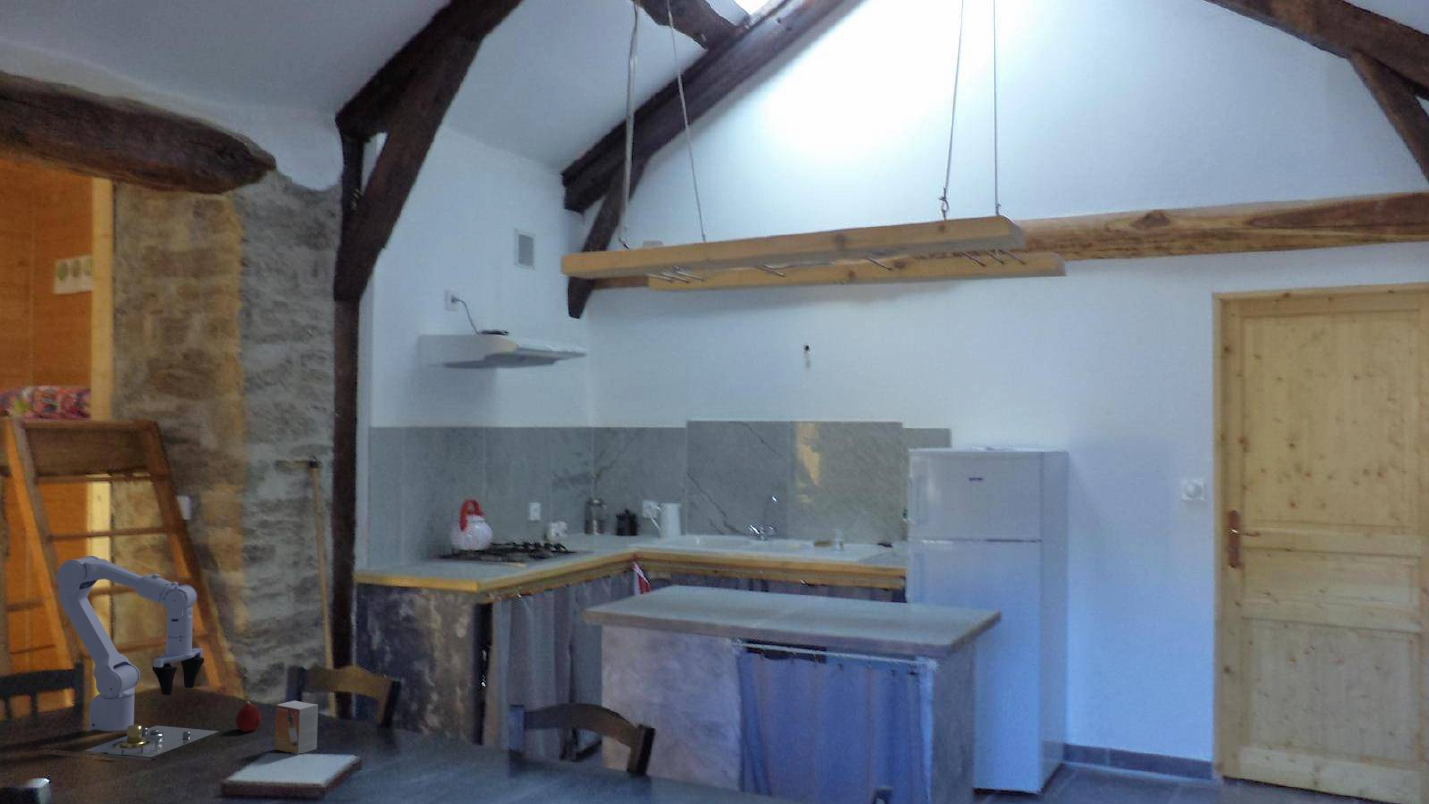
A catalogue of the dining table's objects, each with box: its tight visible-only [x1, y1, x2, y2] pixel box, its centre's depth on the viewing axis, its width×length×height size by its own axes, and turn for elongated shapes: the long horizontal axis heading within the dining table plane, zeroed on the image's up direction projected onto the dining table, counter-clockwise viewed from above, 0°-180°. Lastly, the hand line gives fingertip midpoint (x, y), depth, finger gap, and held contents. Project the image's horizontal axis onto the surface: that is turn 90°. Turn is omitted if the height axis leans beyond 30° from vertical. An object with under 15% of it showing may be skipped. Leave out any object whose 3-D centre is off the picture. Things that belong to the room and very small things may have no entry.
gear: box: [119, 724, 149, 748], centre depth 250 cm, size 6×6×5 cm
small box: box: [274, 699, 319, 754], centre depth 254 cm, size 8×6×10 cm
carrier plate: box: [84, 725, 219, 762], centre depth 256 cm, size 18×23×3 cm
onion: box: [234, 700, 262, 733], centre depth 266 cm, size 6×6×8 cm
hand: (178, 691), depth 268 cm, fingers open, 7 cm apart
